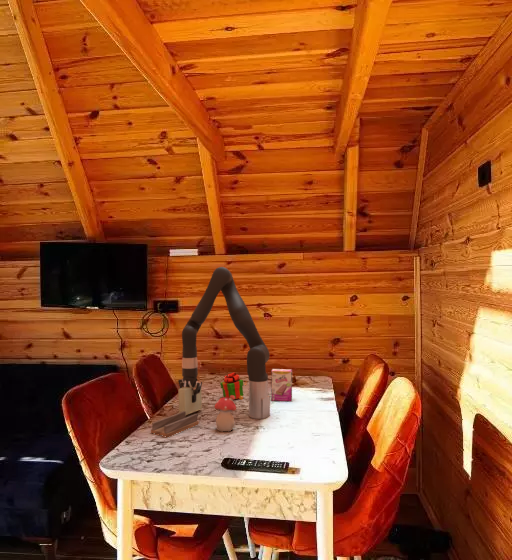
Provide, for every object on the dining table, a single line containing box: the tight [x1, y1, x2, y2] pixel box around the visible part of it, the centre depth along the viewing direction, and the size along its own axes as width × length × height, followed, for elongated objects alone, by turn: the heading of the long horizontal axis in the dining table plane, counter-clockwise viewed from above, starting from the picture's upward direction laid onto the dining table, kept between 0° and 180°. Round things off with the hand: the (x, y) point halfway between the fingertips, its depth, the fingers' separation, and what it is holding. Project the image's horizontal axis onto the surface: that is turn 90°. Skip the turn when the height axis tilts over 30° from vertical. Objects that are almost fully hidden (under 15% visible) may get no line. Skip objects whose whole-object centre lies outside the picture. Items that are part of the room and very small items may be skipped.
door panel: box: [177, 386, 203, 416], centre depth 201 cm, size 4×12×12 cm, turn 147°
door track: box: [150, 411, 200, 438], centre depth 181 cm, size 10×19×4 cm, turn 146°
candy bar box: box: [270, 368, 293, 402], centre depth 224 cm, size 11×5×16 cm, turn 84°
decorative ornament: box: [214, 395, 237, 432], centre depth 179 cm, size 9×7×15 cm
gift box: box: [219, 372, 249, 401], centre depth 227 cm, size 20×19×14 cm
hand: (190, 401), depth 201 cm, fingers closed on door panel, 4 cm apart
